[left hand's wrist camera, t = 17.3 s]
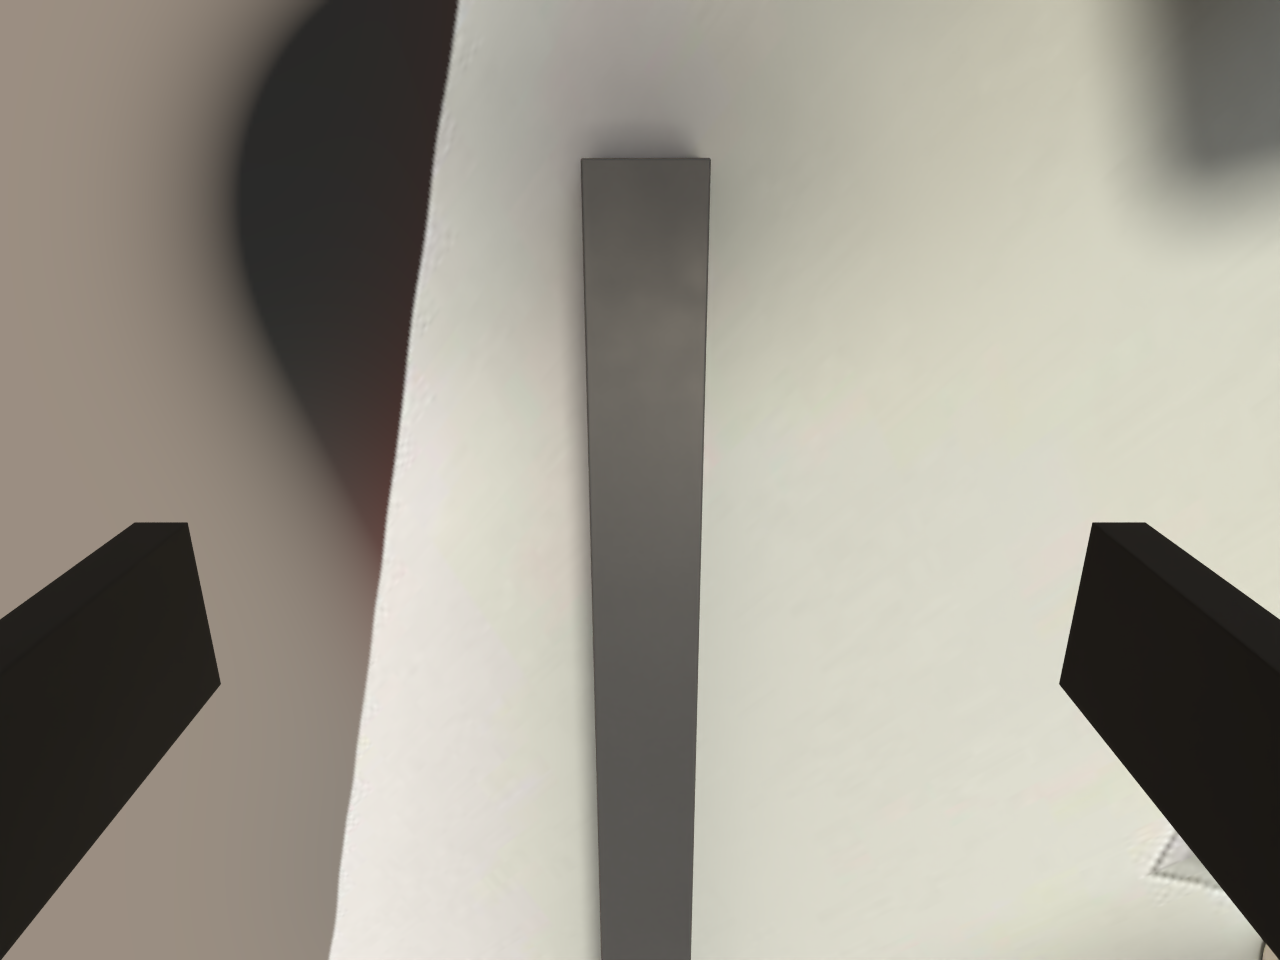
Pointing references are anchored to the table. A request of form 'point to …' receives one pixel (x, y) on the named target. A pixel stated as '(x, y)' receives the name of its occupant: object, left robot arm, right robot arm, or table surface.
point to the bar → (645, 534)
